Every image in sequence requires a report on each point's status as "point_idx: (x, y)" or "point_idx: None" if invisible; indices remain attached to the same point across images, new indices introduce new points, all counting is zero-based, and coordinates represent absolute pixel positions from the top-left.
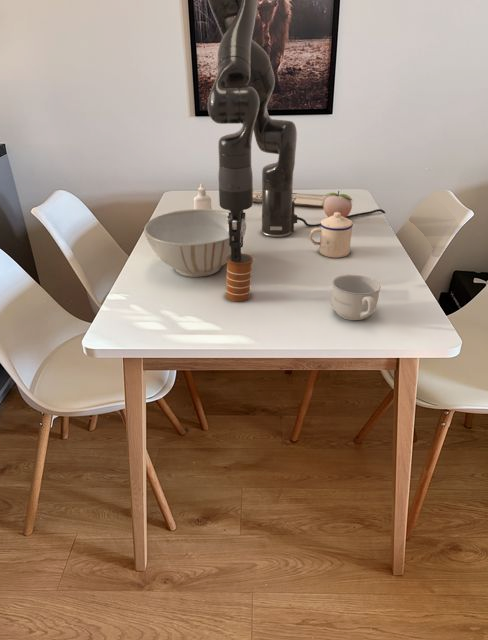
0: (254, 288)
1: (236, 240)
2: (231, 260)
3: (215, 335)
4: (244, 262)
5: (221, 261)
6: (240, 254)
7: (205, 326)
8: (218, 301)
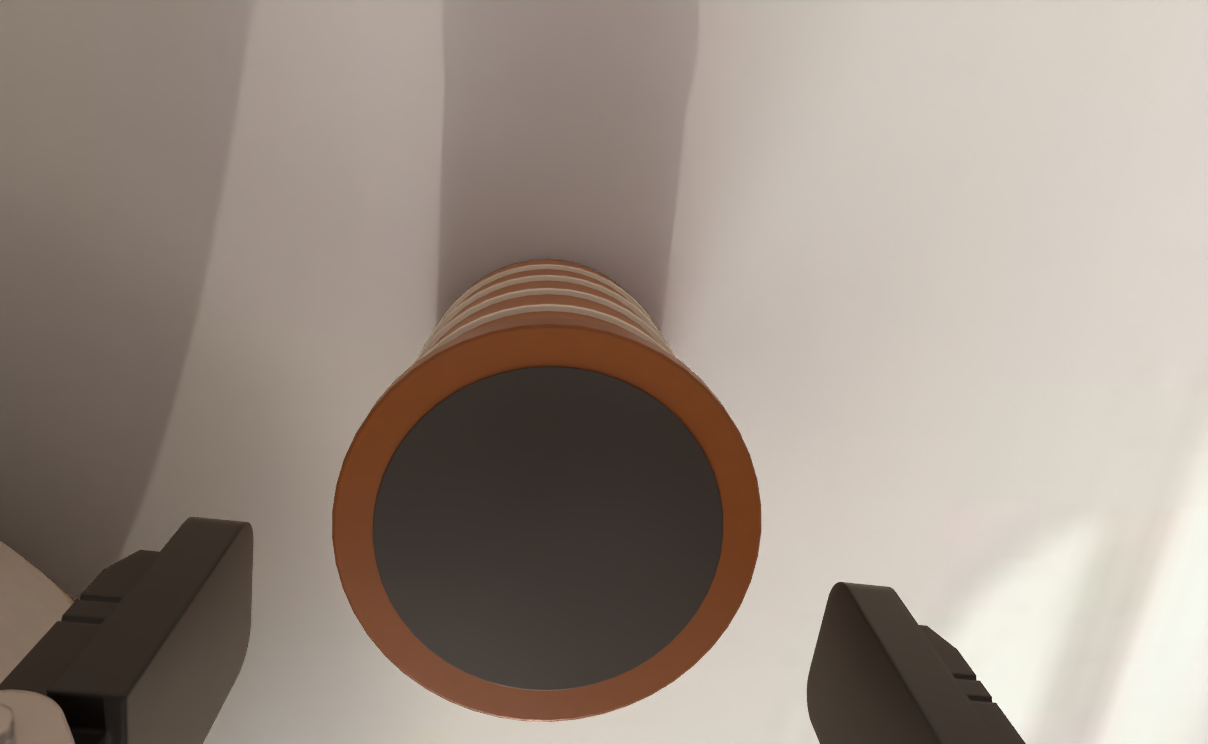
0: (369, 188)
1: (204, 697)
2: (644, 656)
3: (1165, 565)
4: (713, 473)
5: (70, 603)
6: (931, 652)
7: (1016, 630)
8: None
